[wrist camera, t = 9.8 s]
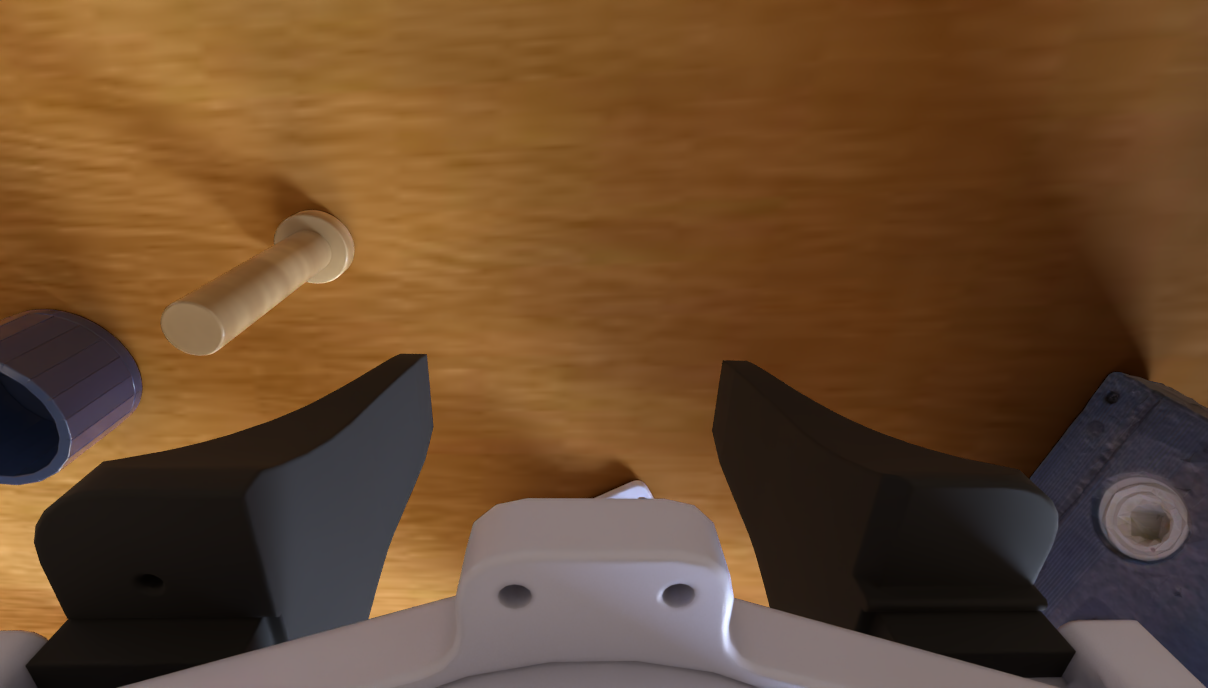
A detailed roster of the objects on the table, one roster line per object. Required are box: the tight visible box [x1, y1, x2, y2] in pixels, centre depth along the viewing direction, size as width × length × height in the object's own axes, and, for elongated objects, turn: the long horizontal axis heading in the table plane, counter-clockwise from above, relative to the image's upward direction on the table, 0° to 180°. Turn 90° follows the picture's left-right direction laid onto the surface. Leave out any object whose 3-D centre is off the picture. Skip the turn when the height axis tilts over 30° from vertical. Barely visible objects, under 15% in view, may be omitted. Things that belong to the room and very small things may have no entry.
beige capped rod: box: [161, 210, 354, 356], centre depth 18 cm, size 3×3×8 cm
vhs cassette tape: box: [1030, 372, 1208, 688], centre depth 25 cm, size 18×3×10 cm, turn 161°
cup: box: [0, 309, 142, 485], centre depth 22 cm, size 5×5×4 cm
